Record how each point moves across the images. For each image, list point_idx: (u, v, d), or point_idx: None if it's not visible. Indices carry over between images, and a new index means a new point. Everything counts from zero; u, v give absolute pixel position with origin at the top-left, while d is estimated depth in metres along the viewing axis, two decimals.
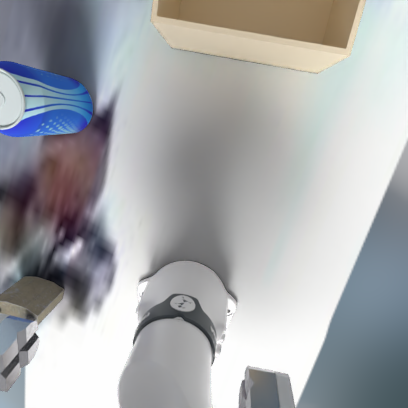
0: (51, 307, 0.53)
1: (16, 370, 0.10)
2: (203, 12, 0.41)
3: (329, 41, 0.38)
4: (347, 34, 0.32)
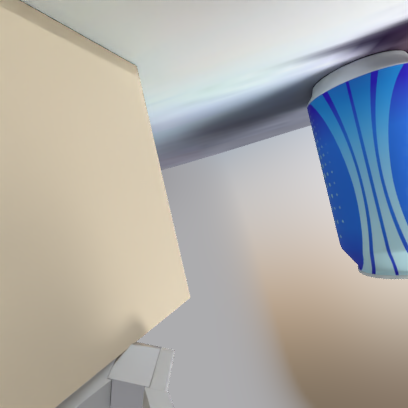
0: None
1: None
2: None
3: None
4: None
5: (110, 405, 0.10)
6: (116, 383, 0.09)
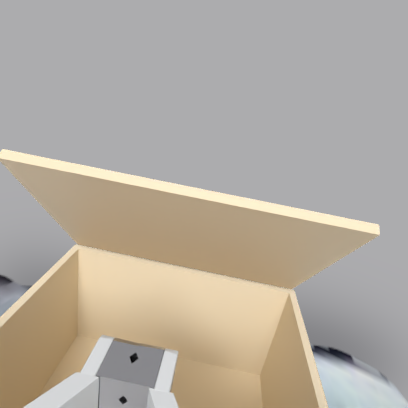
0: None
1: None
2: None
3: None
4: None
5: (99, 403, 0.10)
6: (104, 380, 0.09)
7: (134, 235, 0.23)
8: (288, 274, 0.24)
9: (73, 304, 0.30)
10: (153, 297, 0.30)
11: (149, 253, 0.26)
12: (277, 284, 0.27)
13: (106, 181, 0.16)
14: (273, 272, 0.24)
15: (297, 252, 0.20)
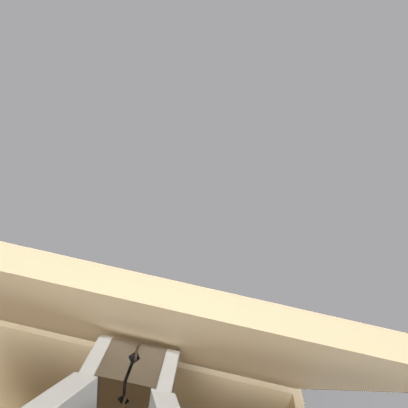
0: None
1: None
2: None
3: None
4: None
5: (97, 402, 0.10)
6: (103, 380, 0.09)
7: (23, 315, 0.13)
8: (293, 382, 0.14)
9: None
10: None
11: (68, 333, 0.16)
12: (274, 383, 0.17)
13: None
14: (268, 376, 0.14)
15: (316, 373, 0.10)
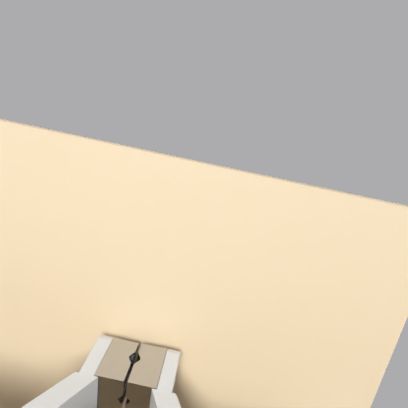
0: None
1: None
2: None
3: None
4: None
5: (98, 402, 0.10)
6: (103, 380, 0.09)
7: (4, 331, 0.11)
8: None
9: None
10: None
11: None
12: None
13: (4, 126, 0.10)
14: None
15: (323, 324, 0.11)
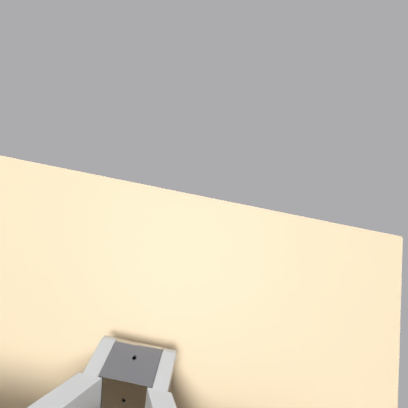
0: None
1: None
2: None
3: None
4: None
5: (101, 403, 0.10)
6: (107, 381, 0.09)
7: (27, 362, 0.11)
8: None
9: None
10: None
11: None
12: None
13: (78, 175, 0.13)
14: None
15: (333, 337, 0.12)
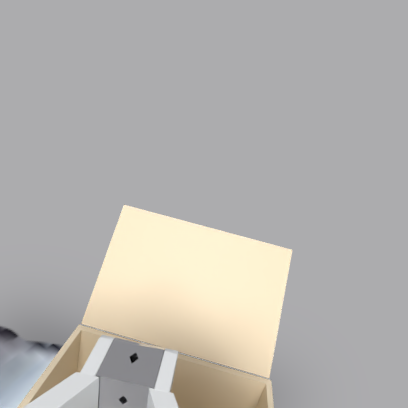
0: None
1: None
2: None
3: None
4: None
5: (98, 403, 0.10)
6: (104, 380, 0.09)
7: (155, 284, 0.33)
8: (261, 332, 0.32)
9: None
10: None
11: (151, 323, 0.32)
12: (256, 367, 0.31)
13: (172, 219, 0.35)
14: (250, 332, 0.32)
15: (261, 283, 0.33)
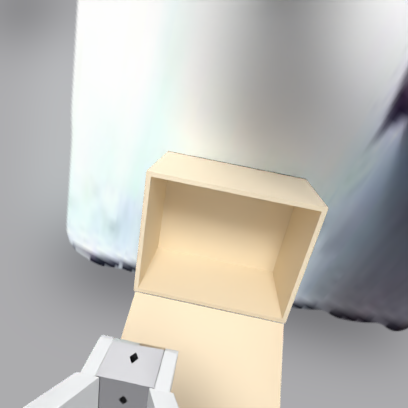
0: None
1: None
2: (272, 205, 0.47)
3: None
4: (151, 186, 0.37)
5: (99, 402, 0.10)
6: (104, 380, 0.09)
7: (230, 362, 0.37)
8: (138, 325, 0.39)
9: (278, 286, 0.46)
10: (227, 289, 0.45)
11: (229, 327, 0.39)
12: (144, 298, 0.40)
13: None
14: (147, 324, 0.39)
15: None
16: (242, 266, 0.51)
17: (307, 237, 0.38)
